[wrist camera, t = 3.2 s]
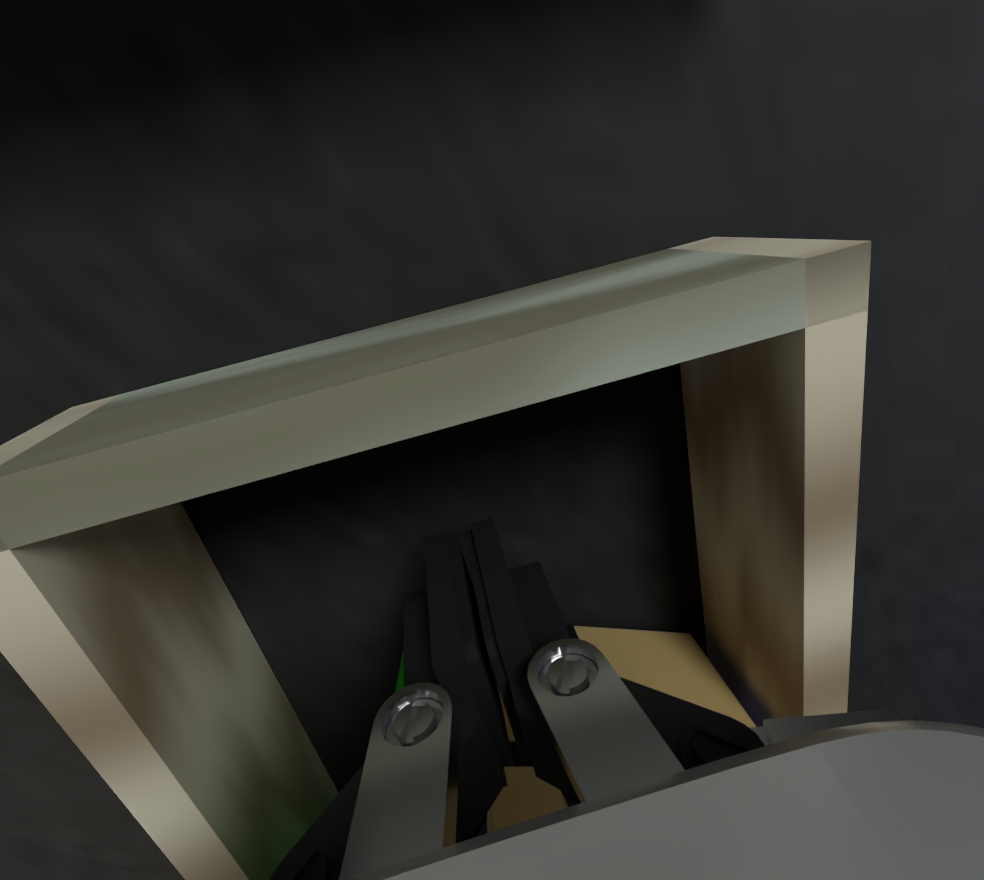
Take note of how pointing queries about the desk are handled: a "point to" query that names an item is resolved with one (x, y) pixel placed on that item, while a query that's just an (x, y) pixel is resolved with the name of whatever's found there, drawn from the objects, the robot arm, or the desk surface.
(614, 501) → the desk surface
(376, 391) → the wooden frame
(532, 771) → the puzzle cube
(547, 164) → the desk surface
